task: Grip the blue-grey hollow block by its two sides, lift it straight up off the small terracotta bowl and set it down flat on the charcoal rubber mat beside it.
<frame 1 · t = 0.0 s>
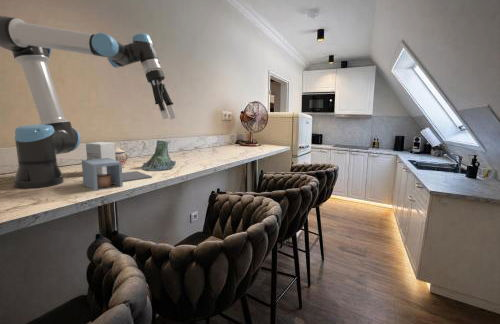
hand: (170, 118, 112), 28 cm above the table, tool tilted 20°, fingers open, 13 cm apart
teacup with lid: (118, 167, 139), on the table
tree stump: (159, 168, 141), on the table
mat: (129, 176, 116), on the table
bowl: (102, 185, 101), on the table
blue-grey hollow block: (102, 185, 101), on the table
supplement box: (102, 173, 123), on the table
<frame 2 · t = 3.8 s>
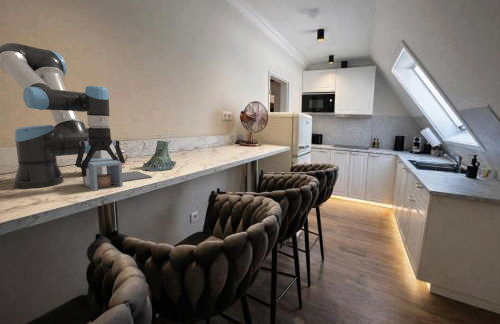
hand: (102, 182, 100), 1 cm above the table, tool pointing down, fingers closed on blue-grey hollow block, 10 cm apart
blue-grey hollow block: (102, 185, 101), on the table, touching gripper
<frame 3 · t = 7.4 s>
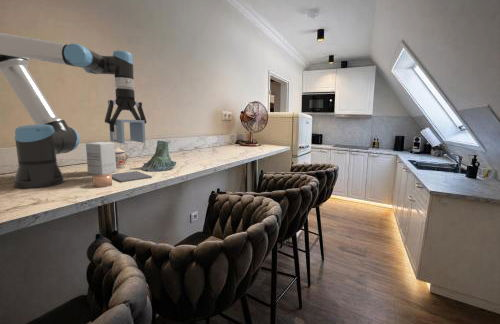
hand: (127, 139, 113), 18 cm above the table, tool pointing down, fingers closed on blue-grey hollow block, 10 cm apart
blue-grey hollow block: (127, 141, 113), point 17 cm above the table, touching gripper
when the fingers open (3 cm above the table, at t = 11.1 s): blue-grey hollow block drops 1 cm, resting on mat.
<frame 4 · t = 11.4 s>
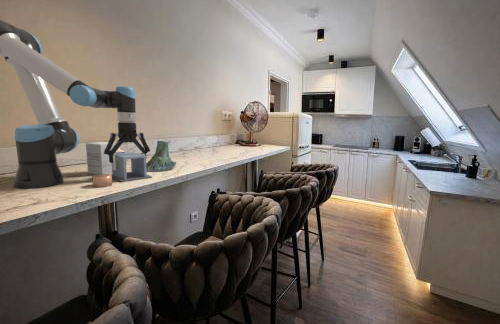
hand: (129, 168, 116), 4 cm above the table, tool pointing down, fingers open, 13 cm apart
blue-grey hollow block: (129, 175, 116), point 1 cm above the table, touching mat
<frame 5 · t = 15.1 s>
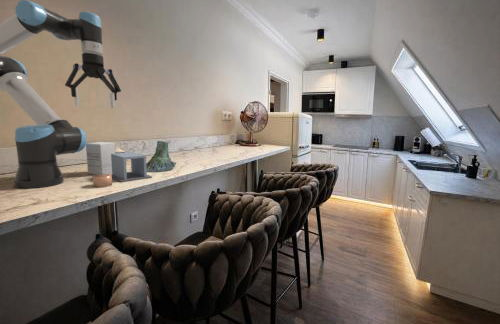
hand: (96, 106, 106), 32 cm above the table, tool pointing down, fingers open, 13 cm apart
at the end: blue-grey hollow block inside the target area on the mat (0.0 cm from its centre), point 0.6 cm above the mat's base; blue-grey hollow block tilted 0°; the gripper is holding nothing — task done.
